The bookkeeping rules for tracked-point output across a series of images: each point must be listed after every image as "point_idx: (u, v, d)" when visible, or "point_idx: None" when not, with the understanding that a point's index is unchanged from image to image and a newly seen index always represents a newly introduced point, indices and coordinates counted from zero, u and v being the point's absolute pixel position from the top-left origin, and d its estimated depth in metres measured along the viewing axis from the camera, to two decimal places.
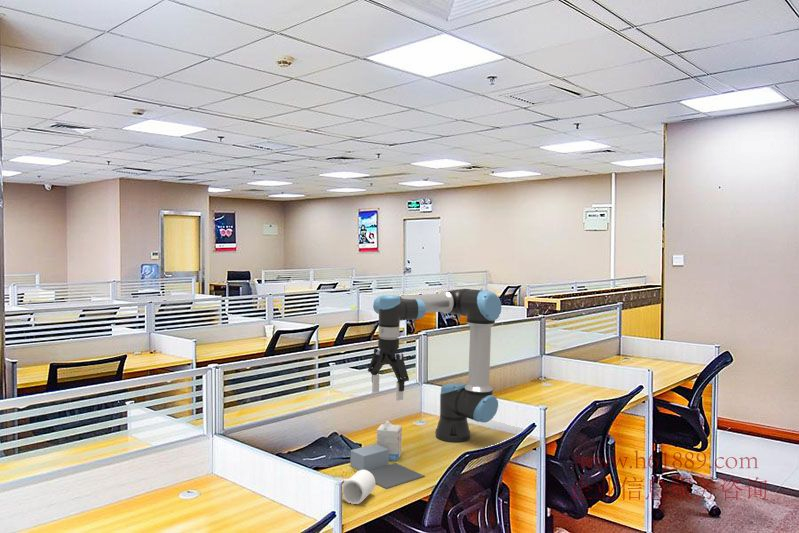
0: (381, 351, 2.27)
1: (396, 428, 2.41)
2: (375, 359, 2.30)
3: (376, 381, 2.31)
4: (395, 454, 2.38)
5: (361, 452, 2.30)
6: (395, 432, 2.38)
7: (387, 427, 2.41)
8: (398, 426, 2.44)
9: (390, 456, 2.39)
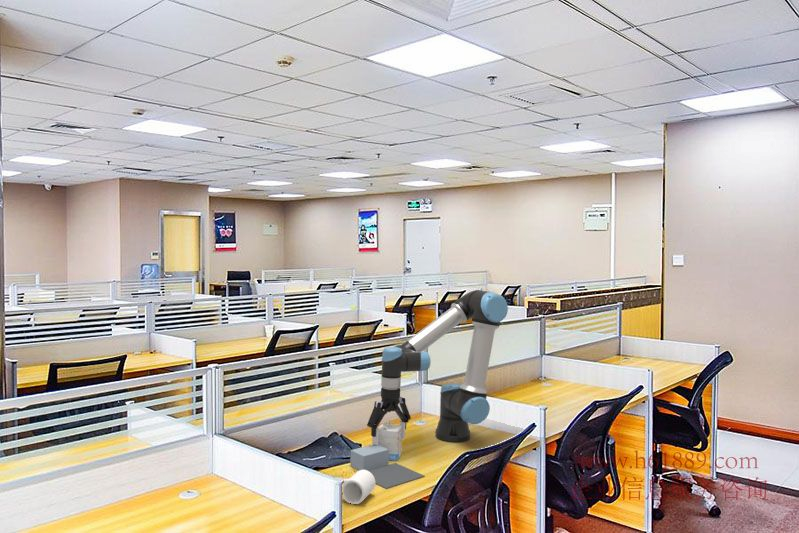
0: None
1: (396, 428, 2.41)
2: (401, 407, 2.47)
3: None
4: (395, 454, 2.38)
5: (361, 452, 2.30)
6: (395, 432, 2.38)
7: (387, 427, 2.41)
8: (398, 426, 2.44)
9: (390, 456, 2.39)
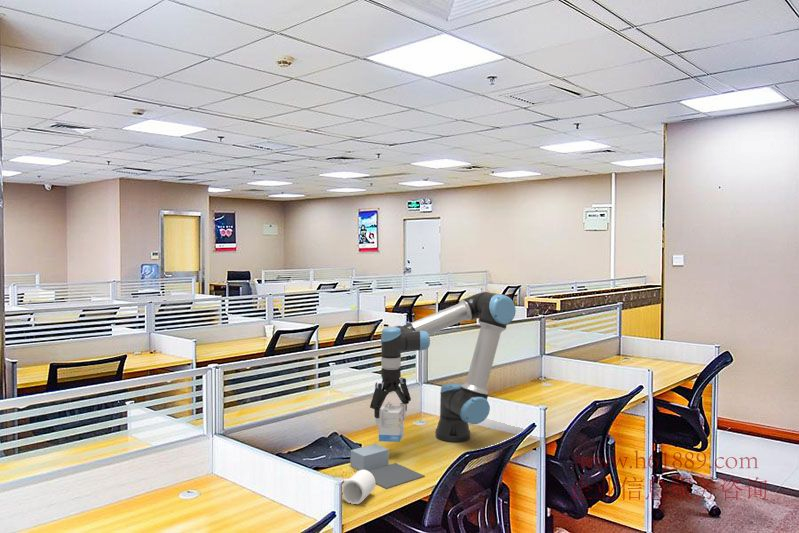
0: None
1: (398, 410, 2.41)
2: (402, 388, 2.47)
3: None
4: (397, 435, 2.38)
5: (361, 452, 2.30)
6: (396, 413, 2.38)
7: (388, 409, 2.41)
8: (399, 407, 2.44)
9: (392, 438, 2.39)
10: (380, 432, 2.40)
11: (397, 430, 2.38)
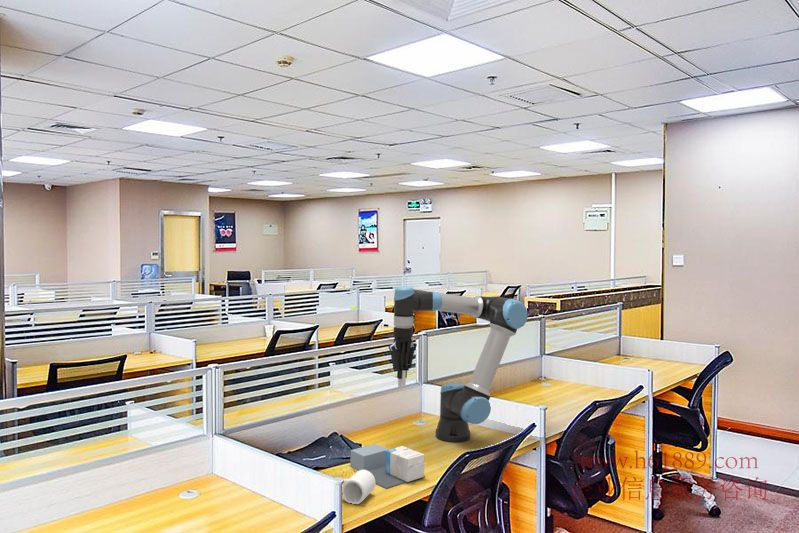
0: None
1: (413, 477, 2.19)
2: (408, 352, 2.45)
3: None
4: (389, 473, 2.23)
5: (361, 452, 2.30)
6: (406, 479, 2.17)
7: (413, 468, 2.18)
8: (420, 475, 2.21)
9: (388, 466, 2.24)
10: (391, 455, 2.22)
11: (393, 474, 2.22)
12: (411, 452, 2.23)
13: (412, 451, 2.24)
